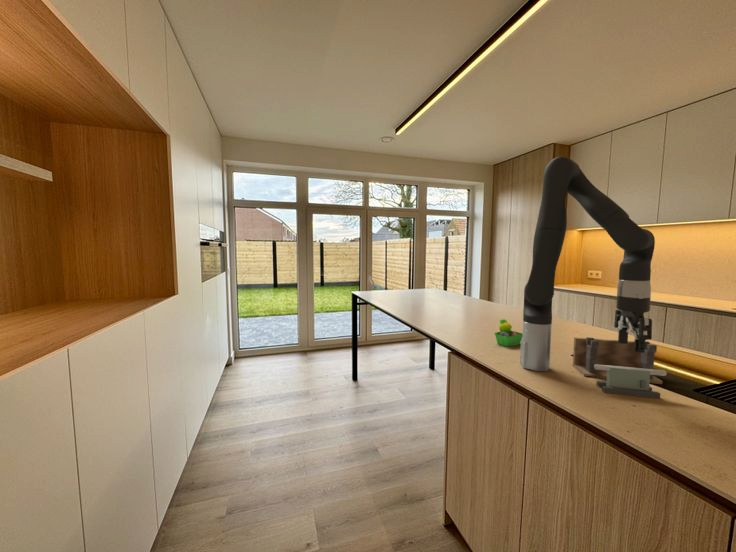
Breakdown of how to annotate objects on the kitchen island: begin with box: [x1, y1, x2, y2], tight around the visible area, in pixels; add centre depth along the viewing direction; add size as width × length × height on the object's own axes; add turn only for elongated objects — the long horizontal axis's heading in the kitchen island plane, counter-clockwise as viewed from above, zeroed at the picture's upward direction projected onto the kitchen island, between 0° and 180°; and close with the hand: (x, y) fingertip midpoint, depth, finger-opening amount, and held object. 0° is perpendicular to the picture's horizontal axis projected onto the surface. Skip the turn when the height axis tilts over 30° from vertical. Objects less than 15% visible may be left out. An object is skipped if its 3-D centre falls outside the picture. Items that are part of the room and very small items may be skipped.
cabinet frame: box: [572, 336, 663, 385], centre depth 103 cm, size 22×10×13 cm, turn 74°
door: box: [594, 364, 668, 391], centre depth 90 cm, size 18×3×8 cm, turn 74°
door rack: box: [595, 380, 661, 399], centre depth 90 cm, size 14×5×2 cm, turn 74°
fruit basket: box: [494, 318, 523, 347], centre depth 138 cm, size 11×9×11 cm
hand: (630, 347), depth 89 cm, fingers open, 8 cm apart
